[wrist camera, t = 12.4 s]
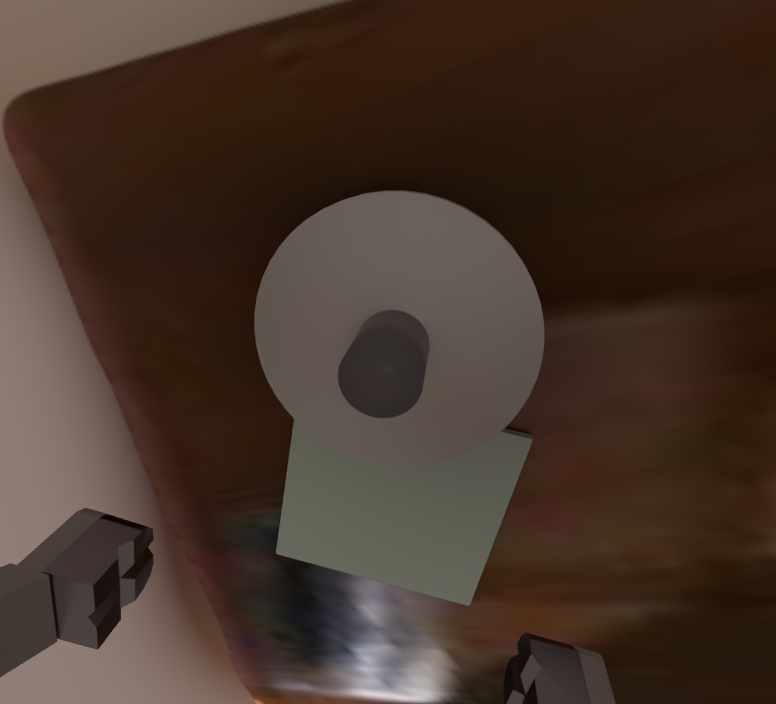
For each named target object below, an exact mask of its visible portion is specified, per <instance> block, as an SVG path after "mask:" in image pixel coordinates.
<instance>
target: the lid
mask: <svg viewBox="0 0 776 704" xmlns="http://www.w3.org/2000/svg"><path fill="white" fill-rule="evenodd" d="M254 330H255V338H256V346H257V351H258V355H259V358H260V362H261V365H262V368H263V370H264V373H265V375H266V378H267V380H268V382H269V384H270V386H271V388H272V389H273V391H274V393H275V395H276V396H277V398H278V399H279V401H280V402H281V403H282V405H283V406H284V408H285V409H286V410H287V411H288V412H289V413H290V415H291V416H292V417H293V418H294V419H295V420H296V421H297V422H298V423H299V424H300V425H301V426H302V427H304V428H305V429H306V430H307V431H308V432H309V433H311V434H312V435H313V436H315V437H316V438H318V439H319V440H320V441H322V442H323V443H325V444H327V445H329V446H331V447H332V448H334V449H336V450H338V451H340V452H342V453H345V454H347V455H349V456H352V457H355V458H358V459H361V460H364V461H368V462H372V463H378V464H383V465H391V466H422V465H429V464H436V463H440V462H444V461H447V460H451V459H454V458H457V457H459V456H462V455H464V454H467V453H469V452H471V451H473V450H475V449H477V448H478V447H480V446H482V445H484V444H485V443H487V442H488V441H489V440H491V439H492V438H494V437H495V436H496V435H498V434H499V433H500V432H501V431H502V430H503V429H504V428H505V427H506V426H507V425H508V424H509V423H510V422H511V421H512V420H513V419H514V417H515V416H516V415H517V414H518V413H519V411H520V410H521V409H522V407H523V405H524V404H525V402H526V401H527V399H528V397H529V396H530V394H531V392H532V389H533V387H534V385H535V382H536V380H537V378H538V374H539V370H540V367H541V363H542V358H543V350H544V320H543V314H542V308H541V303H540V300H539V297H538V294H537V291H536V288H535V285H534V283H533V281H532V279H531V277H530V275H529V273H528V271H527V268H526V267H525V265H524V263H523V261H522V260H521V258H520V257H519V256H518V254H517V253H516V251H515V250H514V248H513V247H512V245H511V244H510V243H509V242H508V241H507V240H506V239H505V238H504V237H503V235H502V234H501V233H500V232H499V231H498V230H497V229H496V228H494V227H493V226H492V225H491V224H490V223H488V222H487V221H486V220H485V219H484V218H482V217H481V216H479V215H477V214H476V213H474V212H473V211H471V210H469V209H468V208H466V207H464V206H462V205H460V204H457V203H455V202H453V201H451V200H448V199H446V198H442V197H439V196H435V195H432V194H428V193H423V192H416V191H408V190H384V191H377V192H370V193H365V194H361V195H358V196H354V197H351V198H347V199H345V200H342V201H339V202H337V203H335V204H333V205H330V206H328V207H326V208H324V209H322V210H320V211H319V212H317V213H316V214H314V215H313V216H311V217H309V218H308V219H306V220H305V221H304V222H303V223H302V224H301V225H299V226H298V227H297V228H296V229H295V230H294V231H292V232H291V234H290V235H289V236H288V237H287V238H286V239H285V241H284V242H283V243H282V244H281V245H280V246H279V248H278V249H277V251H276V253H275V254H274V256H273V257H272V259H271V260H270V262H269V264H268V266H267V269H266V271H265V273H264V275H263V277H262V281H261V284H260V287H259V291H258V294H257V300H256V307H255V328H254Z"/></svg>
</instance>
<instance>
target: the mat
mask: <svg viewBox="0 0 776 704" xmlns="http://www.w3.org/2000/svg"><path fill="white" fill-rule="evenodd" d="M532 441H533V438H532V435H530V434H526V433H522V432H518V431H514V430H510V429H506V428H504V429H503V430H502V431H501V432H500V433H499V434H498V435H496V436H495V437H494V438H492V439H491V440H489V441H488V442H487V443H485V444H484V445H482V446H480V447H478V448H477V449H475V450H473V451H471V452H469V453H467V454H464V455H462V456H459V457H457V458H454V459H451V460H447V461H444V462H440V463H436V464H429V465H422V466H391V465H383V464H378V463H372V462H368V461H364V460H361V459H358V458H355V457H352V456H349V455H347V454H345V453H342V452H340V451H338V450H336V449H334V448H332V447H331V446H329V445H327V444H325V443H323V442H322V441H320V440H319V439H318V438H316V437H315V436H313V435H312V434H311V433H309V432H308V431H307V430H306V429H305V428H304V427H302V426H301V425H300V424H299V423H298V422H297V421H296V420H295V419H294V424H293V431H292V438H291V446H290V453H289V461H288V468H287V475H286V483H285V490H284V497H283V505H282V512H281V520H280V527H279V534H278V542H277V549H276V554H279V555H282V556H286V557H290V558H294V559H297V560H301V561H305V562H308V563H312V564H316V565H319V566H323V567H327V568H330V569H334V570H338V571H342V572H345V573H349V574H353V575H356V576H360V577H364V578H367V579H371V580H375V581H378V582H382V583H386V584H389V585H393V586H397V587H401V588H404V589H408V590H412V591H415V592H419V593H423V594H426V595H430V596H434V597H437V598H441V599H445V600H449V601H452V602H456V603H460V604H463V605H467V606H470V603H471V600H472V598H473V595H474V593H475V590H476V587H477V585H478V582H479V579H480V577H481V574H482V572H483V569H484V566H485V564H486V561H487V559H488V556H489V553H490V551H491V548H492V546H493V543H494V540H495V538H496V535H497V532H498V530H499V527H500V525H501V522H502V519H503V517H504V514H505V512H506V509H507V506H508V504H509V501H510V499H511V496H512V493H513V491H514V488H515V485H516V483H517V480H518V478H519V475H520V472H521V470H522V467H523V465H524V462H525V459H526V457H527V454H528V452H529V449H530V446H531V444H532Z"/></svg>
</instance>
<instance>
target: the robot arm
mask: <svg viewBox="0 0 776 704" xmlns="http://www.w3.org/2000/svg"><path fill="white" fill-rule="evenodd" d="M152 541H153V529H152V528H150V527H147V526H144V525H140V524H137V523H134V522H131V521H128V520H124V519H121V518H118V517H115V516H112V515H108V514H105V513H101V512H98V511H95V510H92V509H88V508H84V509H82V510H80V511H78V512H76V513H75V514H74V515H73V516H71V518H69V519H68V520H67V521H66V522H65V523H64V524H63V525H61V526H60V527H59V528H58V529H57V530H56V531H55V532H54V533H53V534H52V535H50V536H49V537H48V538H47V539H46V540H45V541H44V542H43V543H41V544H40V545H39V546H38V547H37V548H36V549H35V550H34V551H32V552H31V553H30V554H29V555H28V556H27V557H26V558H25V559H24V560H22V561H21V562H20V563H19V564H18V565H15V564H11V563H10V564H8V565H5V566H3V567H0V677H1V676H3V675H4V674H6V673H7V672H9V671H11V670H12V669H14V668H16V667H17V666H19V665H20V664H22V663H24V662H25V661H27V660H28V659H30V658H32V657H33V656H35V655H36V654H38V653H40V652H41V651H43V650H45V649H46V648H48V647H49V646H51V645H52V644H54V643H56V642H57V639H60V640H64V641H68V642H72V643H75V644H79V645H83V646H86V647H91V648H94V649H99V648H100V646H101V645H102V644H103V642H104V641H105V640H106V638H107V637H108V636H109V634H110V633H111V632H112V630H113V629H114V628H115V627H116V625H117V624H118V623H119V621H120V620H121V607H124V606H126V605H127V604H129V603H131V602H133V601H135V600H136V599H137V597H138V596H139V594H140V593H141V592H142V590H143V589H144V587H145V585H146V583H147V581H148V579H149V577H150V575H151V571H152V567H153V554H152V552H151V551H150V550H149V548H148V546H149V545H150V543H151V542H152ZM503 701H504V704H616V703H615V700H614V696H613V692H612V689H611V685H610V682H609V678H608V675H607V671H606V667H605V664H604V660H603V658H602V657H601V655H600V654H599V653H596V652H592V651H589V650H585V649H582V648H578V647H575V646H572V645H570V644H566V643H562V642H558V641H555V640H551V639H547V638H543V637H540V636H536V635H532V634H528V633H524V634H523V635H522V636H521V638H520V640H519V642H518V655H516V656H513V657H511V659H510V661H509V663H508V666H507V668H506V673H505V678H504V687H503Z"/></svg>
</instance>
